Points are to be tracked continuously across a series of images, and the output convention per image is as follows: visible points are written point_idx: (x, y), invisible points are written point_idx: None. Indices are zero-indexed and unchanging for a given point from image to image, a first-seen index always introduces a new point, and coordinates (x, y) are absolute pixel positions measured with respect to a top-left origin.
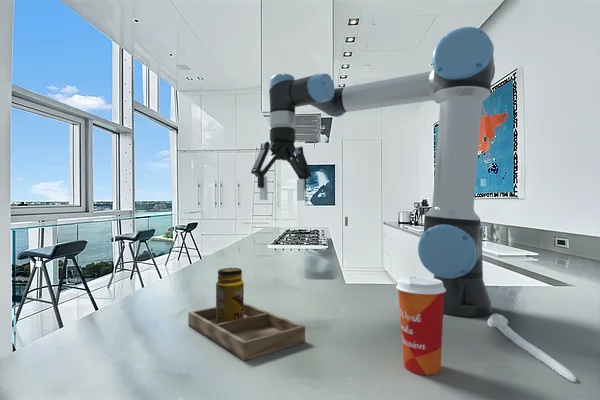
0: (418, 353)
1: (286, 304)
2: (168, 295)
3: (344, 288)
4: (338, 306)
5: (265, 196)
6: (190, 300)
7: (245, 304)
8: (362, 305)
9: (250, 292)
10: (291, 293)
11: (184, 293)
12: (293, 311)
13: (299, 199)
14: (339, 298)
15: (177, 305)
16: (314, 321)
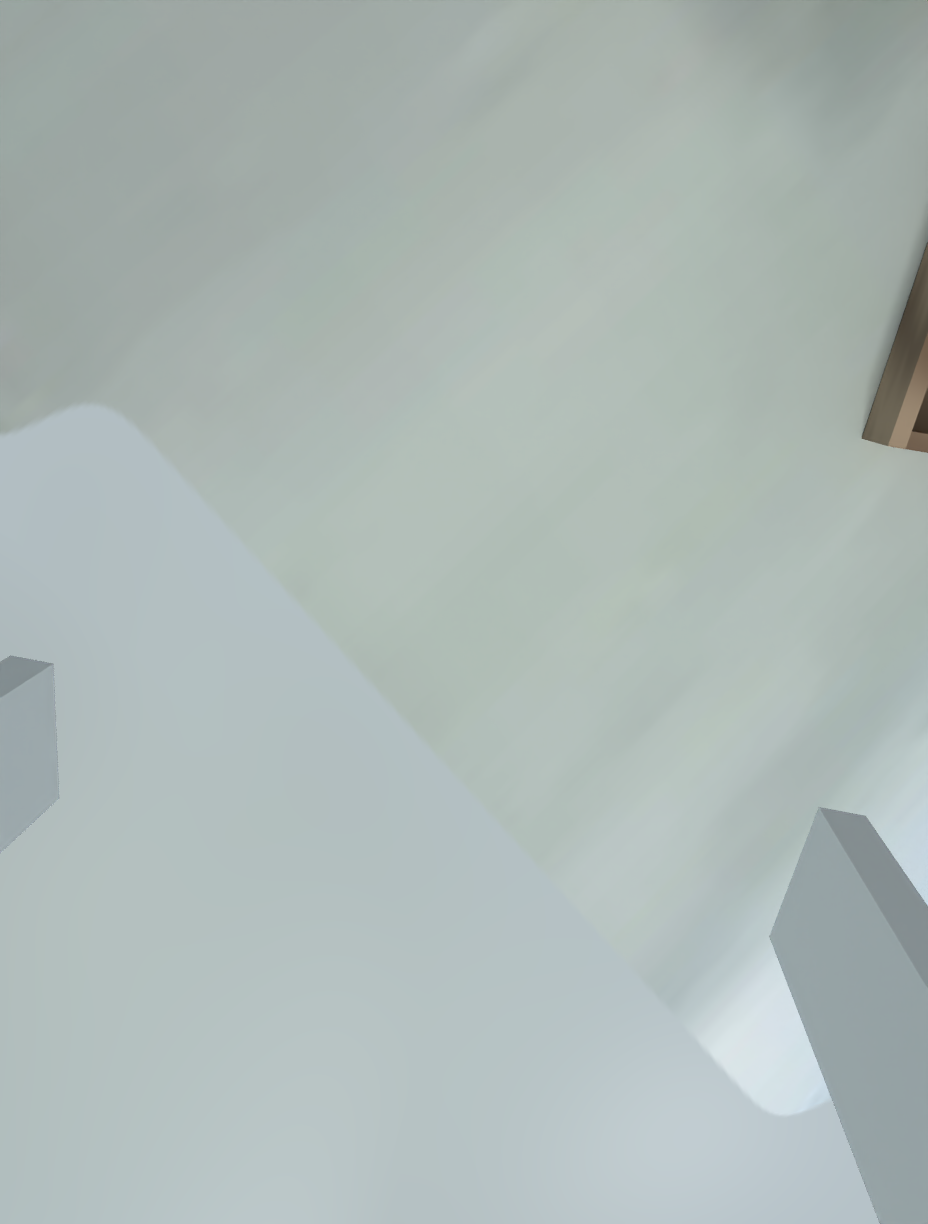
0: None
1: (583, 395)
2: None
3: (83, 379)
4: (432, 124)
5: (884, 848)
6: (810, 818)
7: (920, 389)
8: (321, 15)
9: (516, 721)
10: (388, 540)
11: (731, 937)
12: (668, 263)
13: (45, 753)
14: (289, 242)
15: (909, 791)
16: (755, 26)
